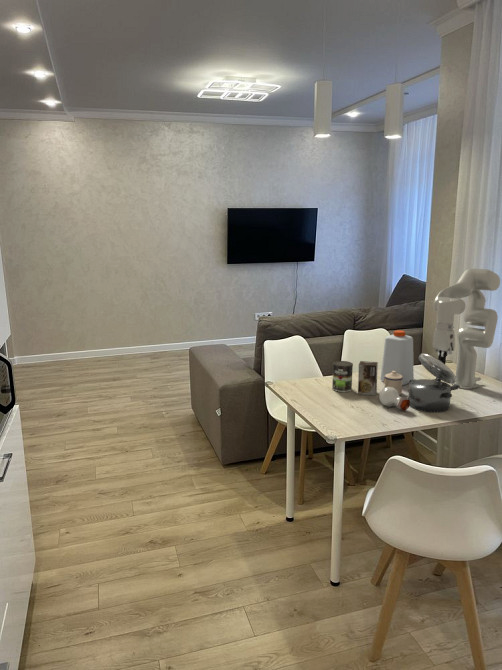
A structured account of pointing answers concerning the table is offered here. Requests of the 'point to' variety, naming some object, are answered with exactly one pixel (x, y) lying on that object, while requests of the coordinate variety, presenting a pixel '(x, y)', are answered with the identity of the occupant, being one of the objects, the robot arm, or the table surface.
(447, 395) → the pot
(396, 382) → the teacup with lid
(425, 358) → the lid
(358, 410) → the table surface
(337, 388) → the coffee can
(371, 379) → the coffee box
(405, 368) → the plastic bottle
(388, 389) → the potion bottle
